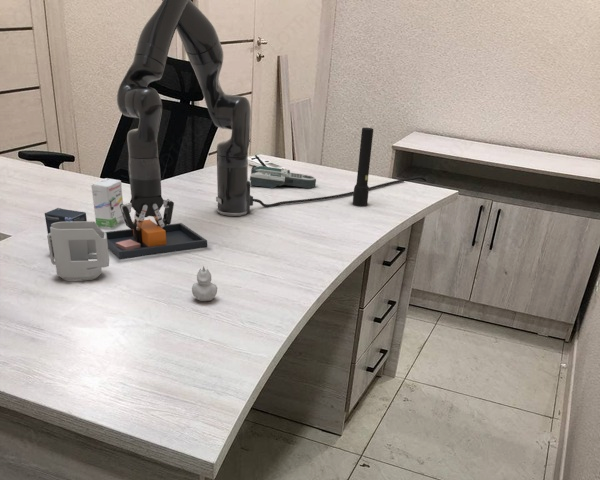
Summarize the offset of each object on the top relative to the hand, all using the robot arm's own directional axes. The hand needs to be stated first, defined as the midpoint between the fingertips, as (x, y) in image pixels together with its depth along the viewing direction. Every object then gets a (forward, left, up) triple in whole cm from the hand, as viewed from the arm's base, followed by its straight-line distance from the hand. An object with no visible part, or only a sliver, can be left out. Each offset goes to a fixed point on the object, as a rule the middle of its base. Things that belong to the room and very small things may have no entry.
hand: (150, 241), depth 163 cm
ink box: (+3, -22, -1) cm, 22 cm away
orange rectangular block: (0, 0, 0) cm, 0 cm away
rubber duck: (+2, +38, -1) cm, 38 cm away
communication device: (-69, -45, -1) cm, 82 cm away
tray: (-1, 0, -1) cm, 1 cm away
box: (+20, -1, -1) cm, 20 cm away
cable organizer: (+21, +15, -1) cm, 26 cm away
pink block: (+6, 0, 0) cm, 6 cm away
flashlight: (-80, -13, -1) cm, 81 cm away
